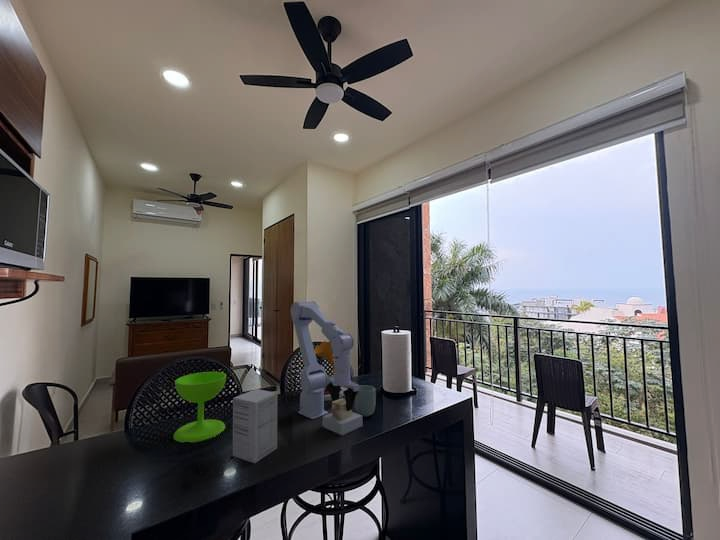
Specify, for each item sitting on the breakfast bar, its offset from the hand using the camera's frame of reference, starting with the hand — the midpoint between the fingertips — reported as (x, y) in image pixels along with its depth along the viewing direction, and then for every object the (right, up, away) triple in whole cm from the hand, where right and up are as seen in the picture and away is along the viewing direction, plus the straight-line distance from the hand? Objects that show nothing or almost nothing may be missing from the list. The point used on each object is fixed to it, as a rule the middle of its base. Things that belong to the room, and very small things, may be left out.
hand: (342, 407), depth 112 cm
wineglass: (-49, -7, -4) cm, 49 cm away
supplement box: (-25, -6, -18) cm, 31 cm away
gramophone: (-10, -9, +35) cm, 38 cm away
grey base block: (0, -7, 0) cm, 7 cm away
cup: (+8, -7, +10) cm, 15 cm away
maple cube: (0, -3, 0) cm, 3 cm away
